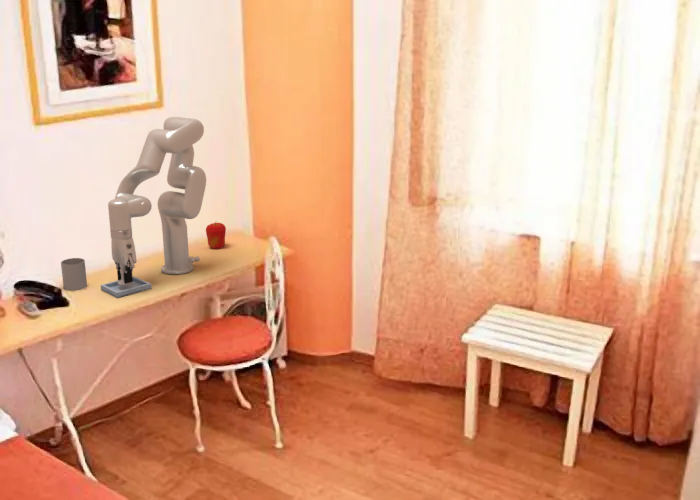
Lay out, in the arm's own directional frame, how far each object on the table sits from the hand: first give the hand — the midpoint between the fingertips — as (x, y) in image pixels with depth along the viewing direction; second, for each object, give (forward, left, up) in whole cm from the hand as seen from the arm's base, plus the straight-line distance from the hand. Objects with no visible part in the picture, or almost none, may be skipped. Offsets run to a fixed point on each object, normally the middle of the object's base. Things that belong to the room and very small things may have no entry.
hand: (125, 280), depth 299 cm
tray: (0, 0, -3) cm, 3 cm away
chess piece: (0, 0, -1) cm, 1 cm away
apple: (-55, -20, -4) cm, 59 cm away
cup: (+12, -16, -4) cm, 20 cm away
